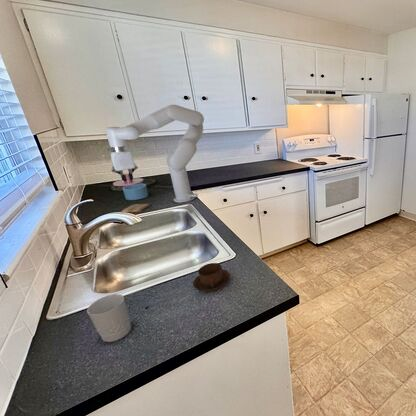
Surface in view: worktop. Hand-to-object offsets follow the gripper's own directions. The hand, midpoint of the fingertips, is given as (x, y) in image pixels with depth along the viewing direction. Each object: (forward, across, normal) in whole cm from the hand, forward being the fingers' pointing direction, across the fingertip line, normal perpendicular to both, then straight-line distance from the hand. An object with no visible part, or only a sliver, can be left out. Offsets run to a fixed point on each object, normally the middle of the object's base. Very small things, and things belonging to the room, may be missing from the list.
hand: (128, 180), depth 159 cm
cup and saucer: (+18, -7, -108) cm, 109 cm away
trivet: (+18, 0, 0) cm, 18 cm away
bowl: (+18, +8, +26) cm, 33 cm away
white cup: (+18, -35, -108) cm, 115 cm away
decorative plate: (+18, +16, +61) cm, 65 cm away
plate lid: (+1, 0, 0) cm, 1 cm away
